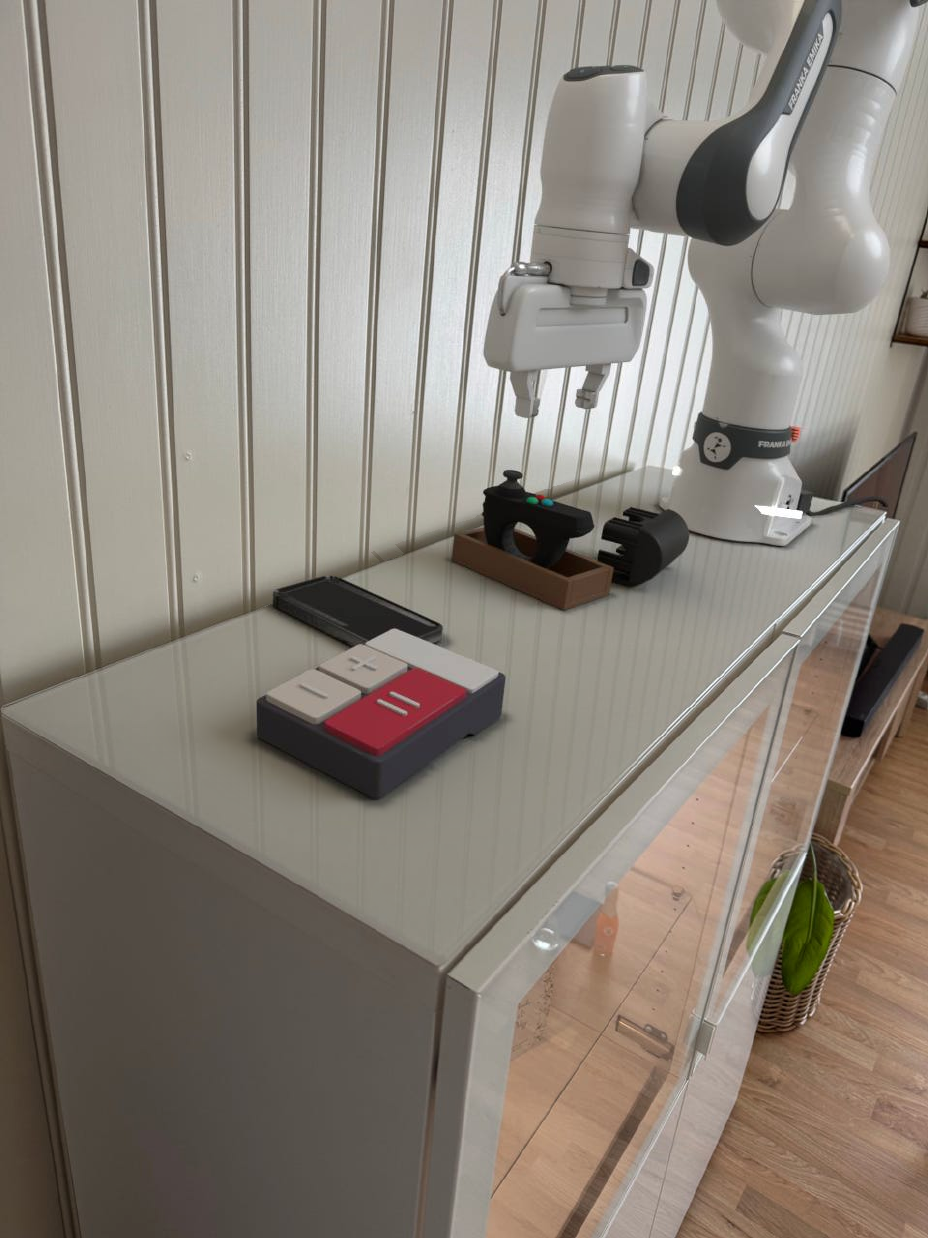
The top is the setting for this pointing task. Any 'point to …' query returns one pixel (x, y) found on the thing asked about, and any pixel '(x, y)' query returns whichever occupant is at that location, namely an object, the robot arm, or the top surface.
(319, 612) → the phone
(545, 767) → the top surface
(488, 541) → the controller
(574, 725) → the top surface
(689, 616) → the top surface
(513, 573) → the holder
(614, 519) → the end cap
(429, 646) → the calculator
